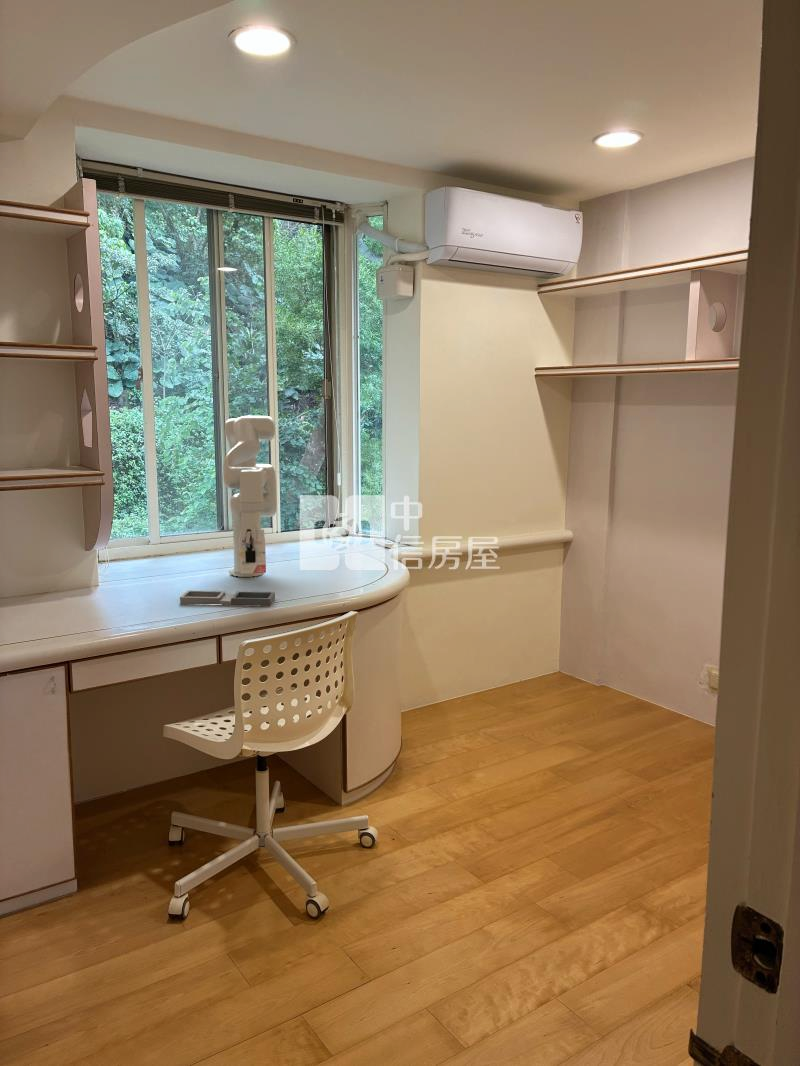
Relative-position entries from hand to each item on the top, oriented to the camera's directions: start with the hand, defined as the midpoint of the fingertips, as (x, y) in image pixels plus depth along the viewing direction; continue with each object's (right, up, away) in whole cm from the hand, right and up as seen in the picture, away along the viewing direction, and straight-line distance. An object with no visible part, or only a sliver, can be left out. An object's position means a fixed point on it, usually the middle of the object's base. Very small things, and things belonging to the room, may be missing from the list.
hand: (252, 560), depth 264 cm
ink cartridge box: (0, -4, +1) cm, 4 cm away
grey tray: (-2, -14, +3) cm, 15 cm away
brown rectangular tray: (-17, -14, +3) cm, 22 cm away
